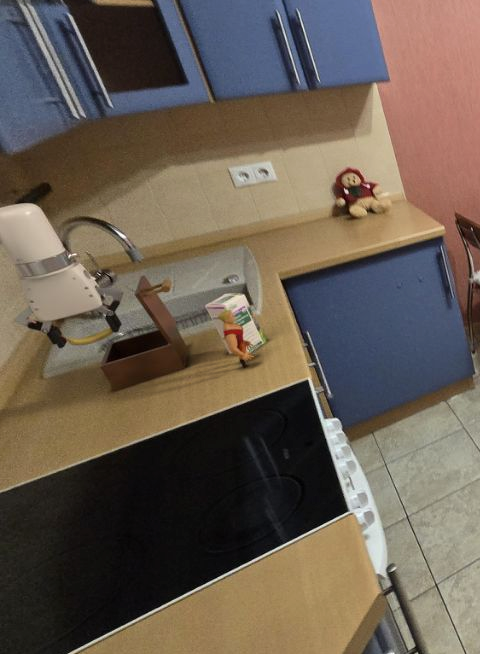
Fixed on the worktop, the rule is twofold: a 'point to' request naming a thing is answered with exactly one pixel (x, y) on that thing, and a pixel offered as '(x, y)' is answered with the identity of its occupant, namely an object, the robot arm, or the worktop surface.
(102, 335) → the banana
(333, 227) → the worktop surface
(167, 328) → the lid
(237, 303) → the syrup box
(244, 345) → the action figure
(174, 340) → the chest
